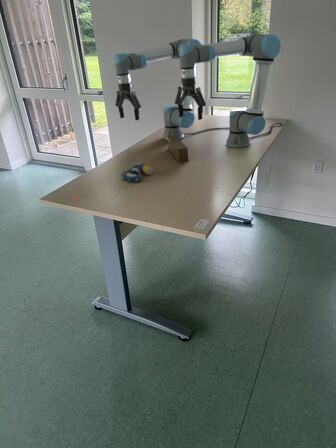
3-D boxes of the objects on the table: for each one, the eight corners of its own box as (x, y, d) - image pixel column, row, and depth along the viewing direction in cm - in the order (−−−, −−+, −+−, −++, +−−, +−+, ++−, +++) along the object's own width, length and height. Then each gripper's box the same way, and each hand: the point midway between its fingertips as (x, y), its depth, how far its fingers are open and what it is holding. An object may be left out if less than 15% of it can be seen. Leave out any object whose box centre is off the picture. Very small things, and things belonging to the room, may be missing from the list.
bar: (168, 148, 228) (167, 136, 224) (176, 147, 229) (175, 135, 225) (179, 162, 205) (178, 149, 200) (188, 161, 206) (187, 147, 201)
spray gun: (158, 169, 197) (136, 167, 203) (157, 162, 194) (135, 160, 201) (140, 184, 181) (118, 182, 188) (139, 177, 179) (116, 175, 185)
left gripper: (105, 83, 203) (112, 118, 214) (134, 84, 189) (139, 122, 200) (114, 80, 208) (120, 115, 219) (143, 82, 193) (148, 119, 204)
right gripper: (166, 77, 181) (169, 117, 192) (202, 79, 166) (204, 122, 177) (175, 75, 186) (178, 114, 197) (211, 76, 170) (212, 118, 181)
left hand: (129, 118), depth 209 cm, fingers open, 13 cm apart
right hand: (190, 118), depth 187 cm, fingers open, 13 cm apart
